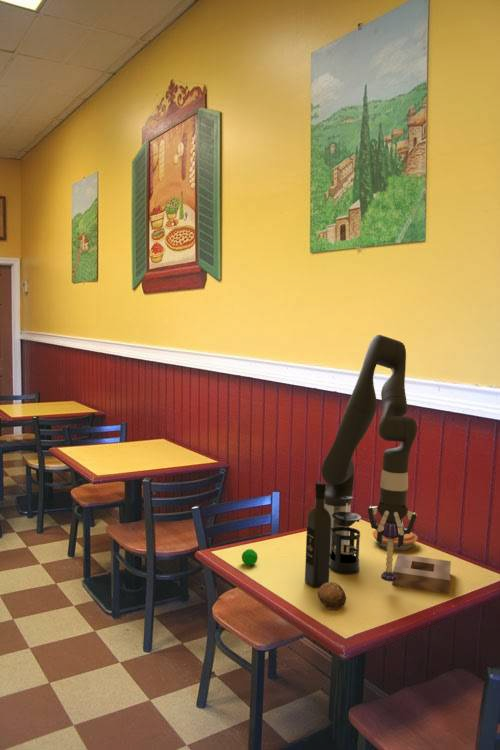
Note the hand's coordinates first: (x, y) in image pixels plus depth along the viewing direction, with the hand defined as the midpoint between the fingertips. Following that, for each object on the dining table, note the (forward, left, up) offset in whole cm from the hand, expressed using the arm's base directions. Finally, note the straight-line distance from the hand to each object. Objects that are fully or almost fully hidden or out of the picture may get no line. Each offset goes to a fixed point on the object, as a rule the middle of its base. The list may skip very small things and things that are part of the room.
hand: (390, 545), depth 174 cm
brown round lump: (-13, -15, -14) cm, 24 cm away
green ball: (-43, +4, -14) cm, 46 cm away
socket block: (+9, +14, -14) cm, 22 cm away
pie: (-2, +42, -14) cm, 45 cm away
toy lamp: (0, 0, -10) cm, 10 cm away
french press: (-15, +13, -14) cm, 25 cm away
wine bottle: (-20, -2, -14) cm, 25 cm away
